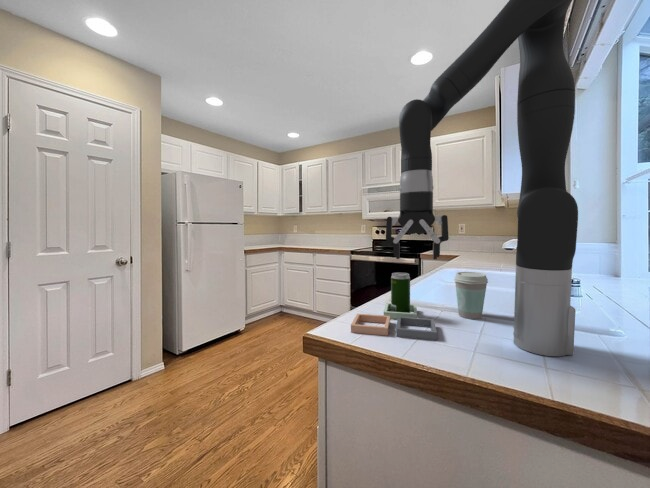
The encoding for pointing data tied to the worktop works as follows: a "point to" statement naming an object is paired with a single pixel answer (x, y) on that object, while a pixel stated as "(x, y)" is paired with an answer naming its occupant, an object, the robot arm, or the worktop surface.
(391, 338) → the worktop surface
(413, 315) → the sage frame
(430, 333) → the charcoal frame
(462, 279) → the coffee cup
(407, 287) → the beer can
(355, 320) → the terracotta frame
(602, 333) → the worktop surface
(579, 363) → the worktop surface
